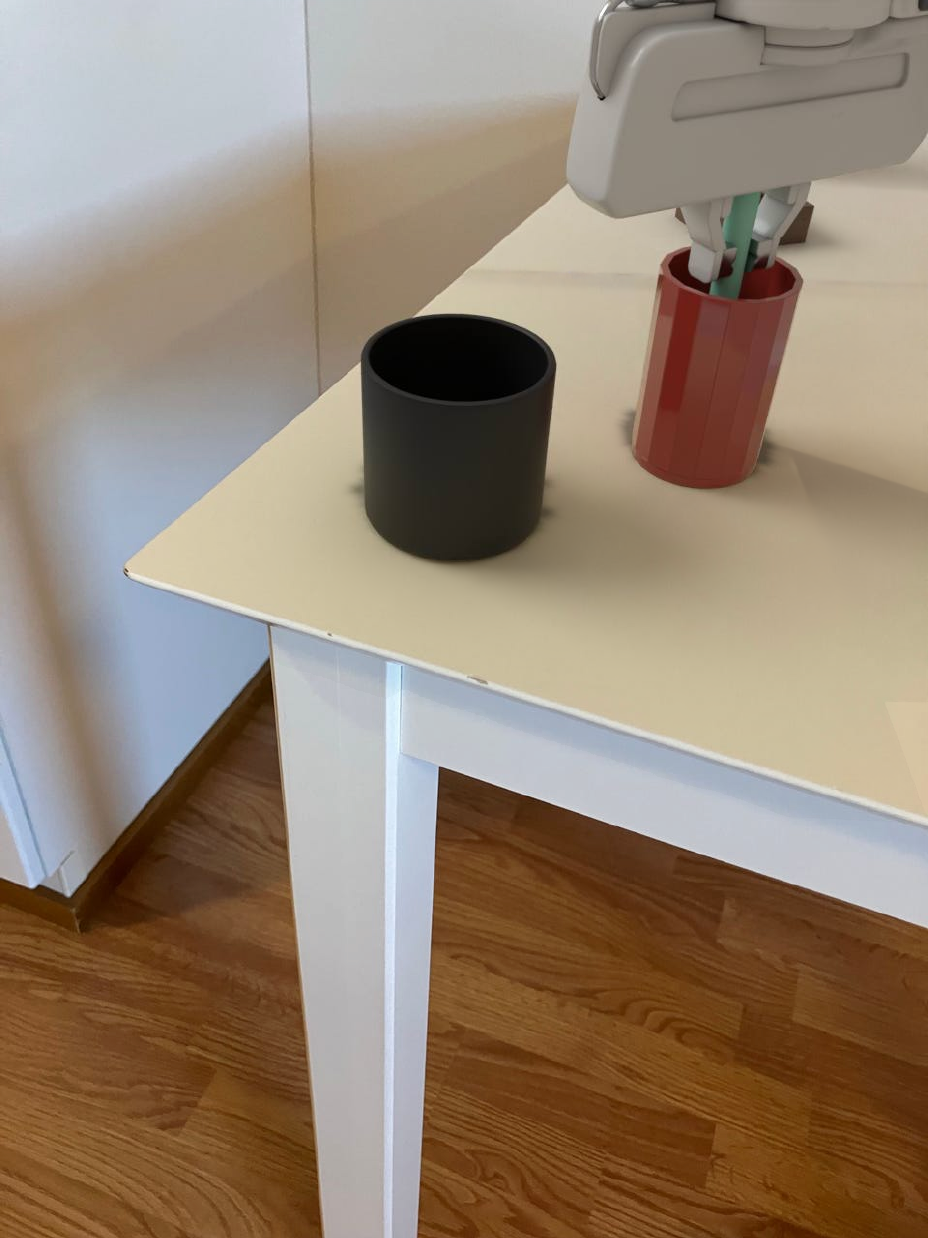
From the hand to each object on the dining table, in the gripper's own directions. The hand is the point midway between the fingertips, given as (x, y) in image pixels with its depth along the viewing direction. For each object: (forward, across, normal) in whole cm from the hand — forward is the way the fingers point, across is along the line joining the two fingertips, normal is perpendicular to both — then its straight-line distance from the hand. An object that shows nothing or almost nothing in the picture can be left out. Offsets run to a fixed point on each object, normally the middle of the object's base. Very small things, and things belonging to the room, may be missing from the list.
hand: (730, 272), depth 55 cm
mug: (+11, -15, +3) cm, 19 cm away
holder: (+11, +24, +23) cm, 35 cm away
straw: (+8, 0, 0) cm, 8 cm away
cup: (+11, 0, 0) cm, 11 cm away
